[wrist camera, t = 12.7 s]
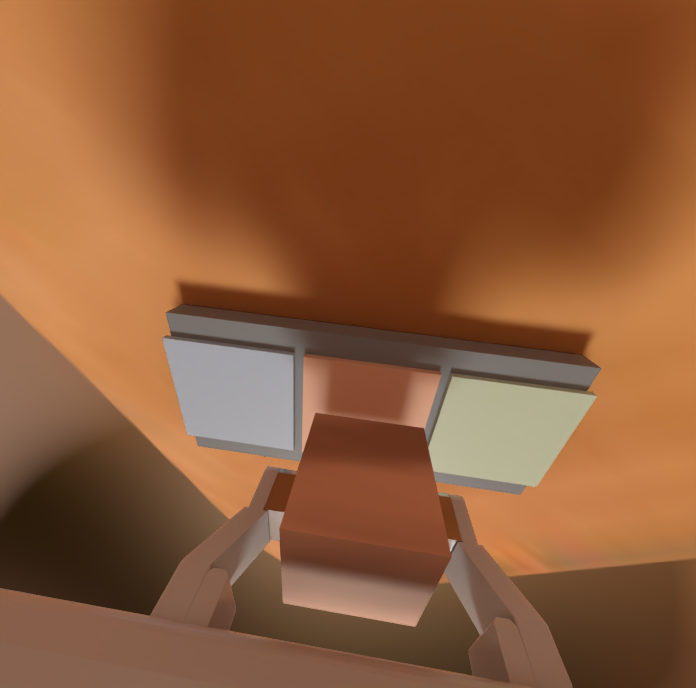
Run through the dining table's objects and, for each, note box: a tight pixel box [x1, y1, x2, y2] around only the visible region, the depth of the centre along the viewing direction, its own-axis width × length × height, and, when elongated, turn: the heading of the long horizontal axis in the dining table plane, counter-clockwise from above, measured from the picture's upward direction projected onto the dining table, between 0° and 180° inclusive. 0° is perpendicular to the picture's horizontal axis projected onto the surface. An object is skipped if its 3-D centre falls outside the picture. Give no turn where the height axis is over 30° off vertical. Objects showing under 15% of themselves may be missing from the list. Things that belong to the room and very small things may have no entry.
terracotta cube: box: [279, 413, 452, 626], centre depth 10 cm, size 4×4×4 cm
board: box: [162, 304, 601, 495], centre depth 14 cm, size 9×20×2 cm, turn 84°
